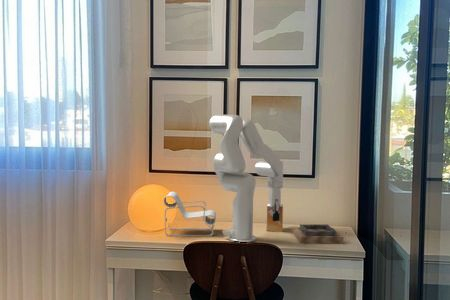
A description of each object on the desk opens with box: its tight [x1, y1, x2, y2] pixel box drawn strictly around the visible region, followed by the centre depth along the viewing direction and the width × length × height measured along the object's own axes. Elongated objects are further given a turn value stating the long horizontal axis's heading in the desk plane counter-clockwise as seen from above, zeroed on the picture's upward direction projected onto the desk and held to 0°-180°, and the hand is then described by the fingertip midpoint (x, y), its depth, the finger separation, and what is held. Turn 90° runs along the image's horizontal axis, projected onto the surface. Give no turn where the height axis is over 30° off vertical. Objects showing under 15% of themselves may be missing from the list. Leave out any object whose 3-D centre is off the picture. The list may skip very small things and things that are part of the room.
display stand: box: [292, 224, 345, 244], centre depth 211 cm, size 20×18×5 cm
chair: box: [163, 191, 217, 237], centre depth 219 cm, size 13×25×20 cm, turn 90°
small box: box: [266, 203, 284, 233], centre depth 225 cm, size 8×6×13 cm
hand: (274, 218), depth 226 cm, fingers closed on small box, 7 cm apart
